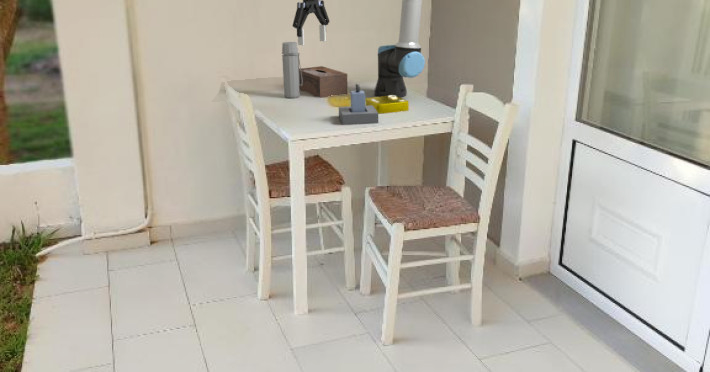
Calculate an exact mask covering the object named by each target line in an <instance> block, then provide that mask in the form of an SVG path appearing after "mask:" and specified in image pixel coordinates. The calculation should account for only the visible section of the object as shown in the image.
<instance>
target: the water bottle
mask: <svg viewBox="0 0 710 372" xmlns="http://www.w3.org/2000/svg"><path fill="white" fill-rule="evenodd" d="M281 46H282V47H281V54H282V55H281V57H282V59H281V60H282V75H283V95H284V97H285V98H286V99H297V98H299V97H300V90H299V85H300V84H299V69H300V72H301V67H302V66H301V60H300V54H301V53H300V52H299V48H298V42H297V41H285V42H282V45H281ZM301 79H302V73H301ZM302 82H303V80H302ZM300 86H302V83H301V85H300Z"/></svg>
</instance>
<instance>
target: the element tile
mask: <svg viewBox="0 0 710 372" xmlns="http://www.w3.org/2000/svg"><path fill="white" fill-rule="evenodd" d="M409 104H410V102H409V100H407V99H406V98H405V99H404V98H402V97H398V96H395V95H389V96H382V97H378V96H373V97H365V106H370V105H372V106H373V107H374V108H375V109H376V111H377V112H378V115H379V114H380V115H381V114H392V113H400V112H401V111H402V112H407V111H409V109H410V107H409V106H410V105H409ZM402 112H401V113H402Z"/></svg>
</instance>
